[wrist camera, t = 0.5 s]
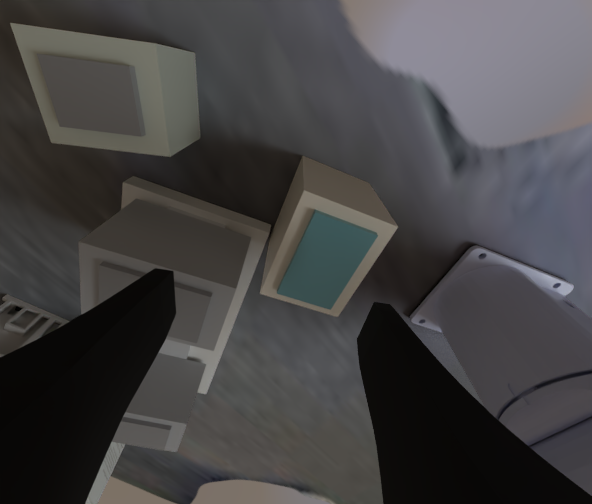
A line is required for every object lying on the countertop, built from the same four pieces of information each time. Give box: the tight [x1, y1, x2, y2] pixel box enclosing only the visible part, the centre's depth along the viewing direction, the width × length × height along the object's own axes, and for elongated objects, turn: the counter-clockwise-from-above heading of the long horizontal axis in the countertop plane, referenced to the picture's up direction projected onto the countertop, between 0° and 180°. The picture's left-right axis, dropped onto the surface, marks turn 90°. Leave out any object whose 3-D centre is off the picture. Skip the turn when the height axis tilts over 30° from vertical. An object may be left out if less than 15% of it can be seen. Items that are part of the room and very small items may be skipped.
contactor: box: [10, 23, 201, 157], centre depth 13 cm, size 5×4×5 cm
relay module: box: [260, 156, 398, 317], centre depth 16 cm, size 4×6×6 cm
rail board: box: [79, 176, 271, 452], centre depth 20 cm, size 9×20×7 cm, turn 158°
